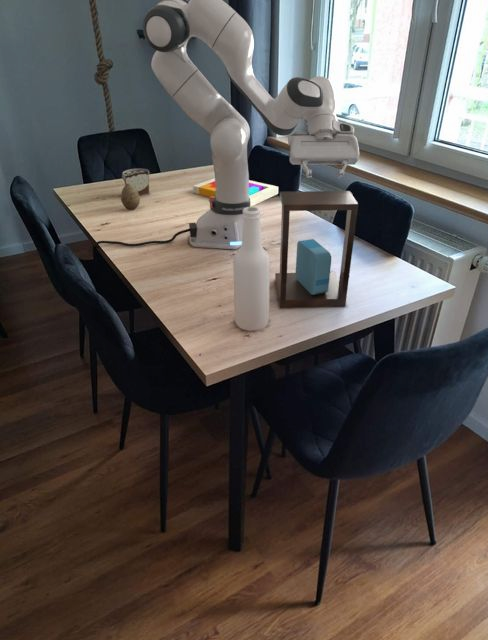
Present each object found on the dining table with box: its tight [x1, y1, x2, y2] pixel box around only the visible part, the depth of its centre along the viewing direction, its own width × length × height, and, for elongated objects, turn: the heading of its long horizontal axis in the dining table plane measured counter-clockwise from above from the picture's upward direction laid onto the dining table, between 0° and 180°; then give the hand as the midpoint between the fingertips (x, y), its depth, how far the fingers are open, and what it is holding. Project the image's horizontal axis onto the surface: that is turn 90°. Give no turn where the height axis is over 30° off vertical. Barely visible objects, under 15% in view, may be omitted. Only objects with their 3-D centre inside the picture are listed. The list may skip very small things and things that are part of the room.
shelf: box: [274, 190, 359, 309], centre depth 130 cm, size 18×16×28 cm
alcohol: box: [232, 206, 271, 332], centre depth 117 cm, size 9×9×30 cm
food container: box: [121, 168, 151, 198], centre depth 204 cm, size 12×6×10 cm, turn 133°
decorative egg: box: [120, 184, 141, 211], centre depth 190 cm, size 7×7×10 cm
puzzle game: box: [192, 177, 279, 207], centre depth 206 cm, size 30×3×30 cm
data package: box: [295, 238, 332, 295], centre depth 133 cm, size 12×4×12 cm, turn 22°
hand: (325, 176), depth 140 cm, fingers open, 8 cm apart
